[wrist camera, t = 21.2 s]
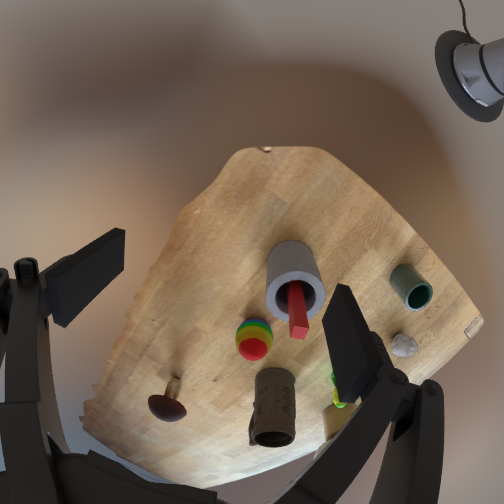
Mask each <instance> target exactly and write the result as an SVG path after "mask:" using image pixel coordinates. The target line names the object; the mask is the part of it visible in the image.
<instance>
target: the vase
mask: <svg viewBox="0 0 504 504" xmlns="http://www.w3.org/2000/svg"><path fill="white" fill-rule="evenodd" d="M291 280H301V284H302V289H303V295H304V301H305V306H306V312H307V318H308V319H310V318H312V317H313V316H315V315H316V314H317V313H318V312H319V311H320V310H321V309H322V307H323V304H324V302H325V295H326V292H325V289H324V286H323V283H322V280H321V277H320V274H319V271H318V268H317V265H316V262H315V259H314V256H313V253H312V251H311V250H310V248H309V247H308V246H307V245H305V244H304V243H302V242H299V241H295V240H288V241H284V242H281V243H279V244H278V245H276V246H275V247H274V248H273V249H272V250H271V252H270V254H269V257H268V262H267V279H266V295H265V296H266V304H267V307H268V309H269V311H270V312H271V313H272V314H273V315H274V316H275V317H277V318H279V319H280V320H282V321H287V322H289V313H288V299H287V286H286V282H288V281H291Z"/></svg>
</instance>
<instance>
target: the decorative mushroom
mask: <svg viewBox="0 0 504 504" xmlns="http://www.w3.org/2000/svg"><path fill="white" fill-rule="evenodd" d="M181 389H182V382H181V381H180V380H179V379H176V378H172V379H170V381H169V382H168V384H167V387H166V390H165V394H164V396H163V395H152V396H150V397H149V398H148V405H149V409H150V411H151V412H152V413H153V414H154V415H155V416H156V417H157V418H158V419H160V420H162V421H166V422H174V421H178V420H180V419H182V418H183V417H184V416H185V415H186V413H187V412H186V409H185V408H184V406H183V405H182V404H181V403H180V402H178V401H177V398H178V396H179V394H180V392H181Z"/></svg>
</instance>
